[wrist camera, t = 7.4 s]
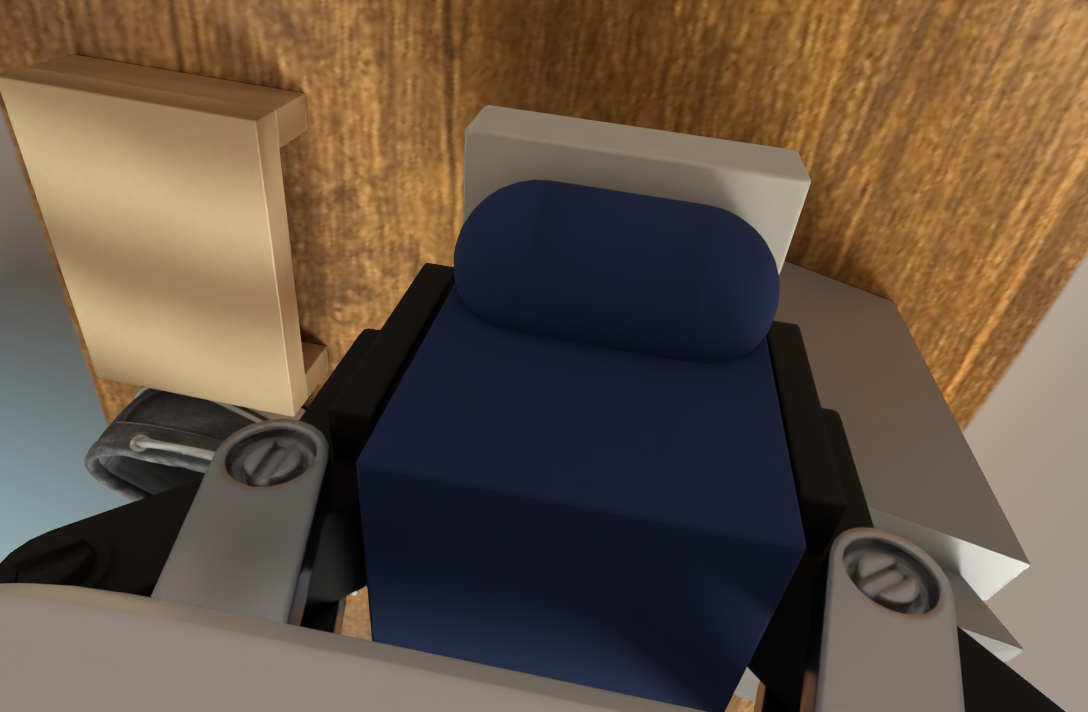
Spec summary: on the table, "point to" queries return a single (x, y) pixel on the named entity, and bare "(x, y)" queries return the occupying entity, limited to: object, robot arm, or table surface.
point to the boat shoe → (166, 441)
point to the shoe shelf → (171, 225)
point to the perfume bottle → (904, 447)
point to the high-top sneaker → (595, 416)
